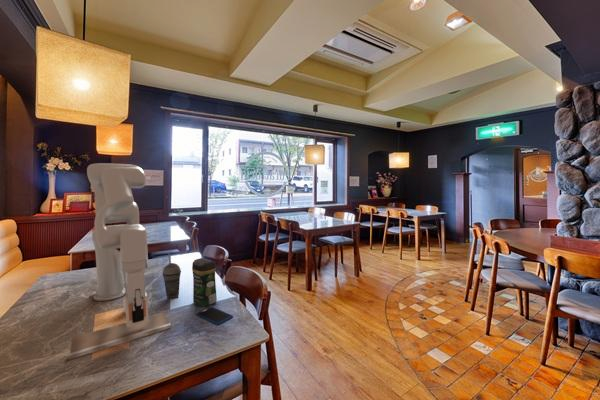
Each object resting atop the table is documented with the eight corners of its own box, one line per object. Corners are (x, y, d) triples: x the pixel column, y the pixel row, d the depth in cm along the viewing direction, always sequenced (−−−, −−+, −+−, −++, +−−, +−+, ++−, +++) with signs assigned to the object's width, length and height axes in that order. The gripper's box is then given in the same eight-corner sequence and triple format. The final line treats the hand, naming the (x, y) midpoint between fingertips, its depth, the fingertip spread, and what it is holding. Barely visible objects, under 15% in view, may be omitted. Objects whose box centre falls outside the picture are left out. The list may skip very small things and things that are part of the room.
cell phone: (211, 307, 105) (211, 306, 105) (234, 317, 97) (234, 315, 97) (194, 315, 99) (194, 313, 99) (218, 326, 91) (218, 324, 91)
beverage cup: (174, 302, 109) (172, 256, 108) (159, 301, 111) (157, 255, 109) (185, 295, 116) (183, 251, 115) (171, 294, 118) (169, 251, 117)
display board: (69, 364, 72) (68, 356, 72) (73, 341, 82) (72, 334, 82) (171, 331, 88) (171, 324, 88) (163, 316, 98) (163, 309, 98)
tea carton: (126, 322, 87) (124, 296, 86) (146, 316, 90) (145, 291, 90) (127, 327, 83) (125, 300, 83) (148, 321, 87) (147, 295, 87)
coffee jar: (190, 302, 109) (188, 259, 108) (206, 296, 116) (205, 255, 114) (203, 309, 103) (201, 263, 102) (219, 302, 110) (218, 259, 109)
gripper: (119, 261, 90) (122, 312, 91) (123, 274, 77) (126, 333, 78) (144, 257, 95) (146, 305, 96) (151, 268, 81) (154, 325, 83)
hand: (137, 317), depth 87 cm, fingers closed on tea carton, 4 cm apart
